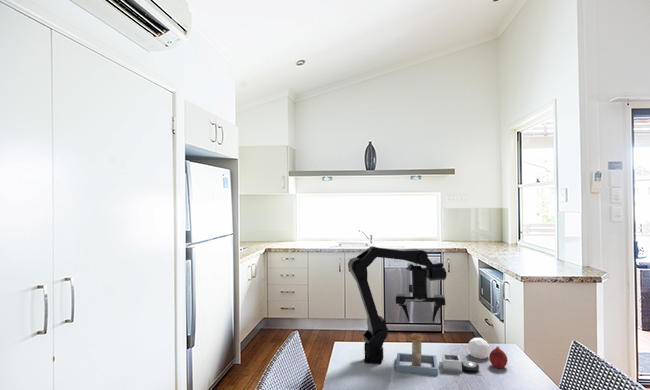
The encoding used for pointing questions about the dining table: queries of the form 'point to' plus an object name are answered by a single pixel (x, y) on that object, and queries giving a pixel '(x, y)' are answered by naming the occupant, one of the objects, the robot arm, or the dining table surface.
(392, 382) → the dining table surface
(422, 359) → the tray
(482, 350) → the ball
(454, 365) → the grey piece
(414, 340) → the orange-brown round-topped piece
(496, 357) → the onion
